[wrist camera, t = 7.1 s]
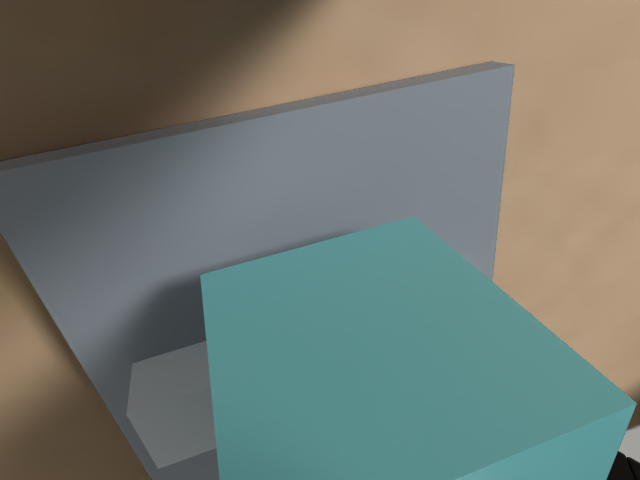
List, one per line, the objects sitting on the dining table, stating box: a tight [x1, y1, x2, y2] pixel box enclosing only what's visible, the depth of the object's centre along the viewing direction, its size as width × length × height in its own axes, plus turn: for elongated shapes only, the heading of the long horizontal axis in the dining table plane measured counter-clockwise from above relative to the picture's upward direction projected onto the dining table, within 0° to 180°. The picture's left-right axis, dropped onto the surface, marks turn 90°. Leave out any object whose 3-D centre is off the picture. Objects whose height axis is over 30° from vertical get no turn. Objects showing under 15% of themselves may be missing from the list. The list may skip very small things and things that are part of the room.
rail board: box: [0, 61, 515, 480], centre depth 11 cm, size 11×12×2 cm
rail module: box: [200, 216, 637, 480], centre depth 8 cm, size 4×7×5 cm, turn 8°
